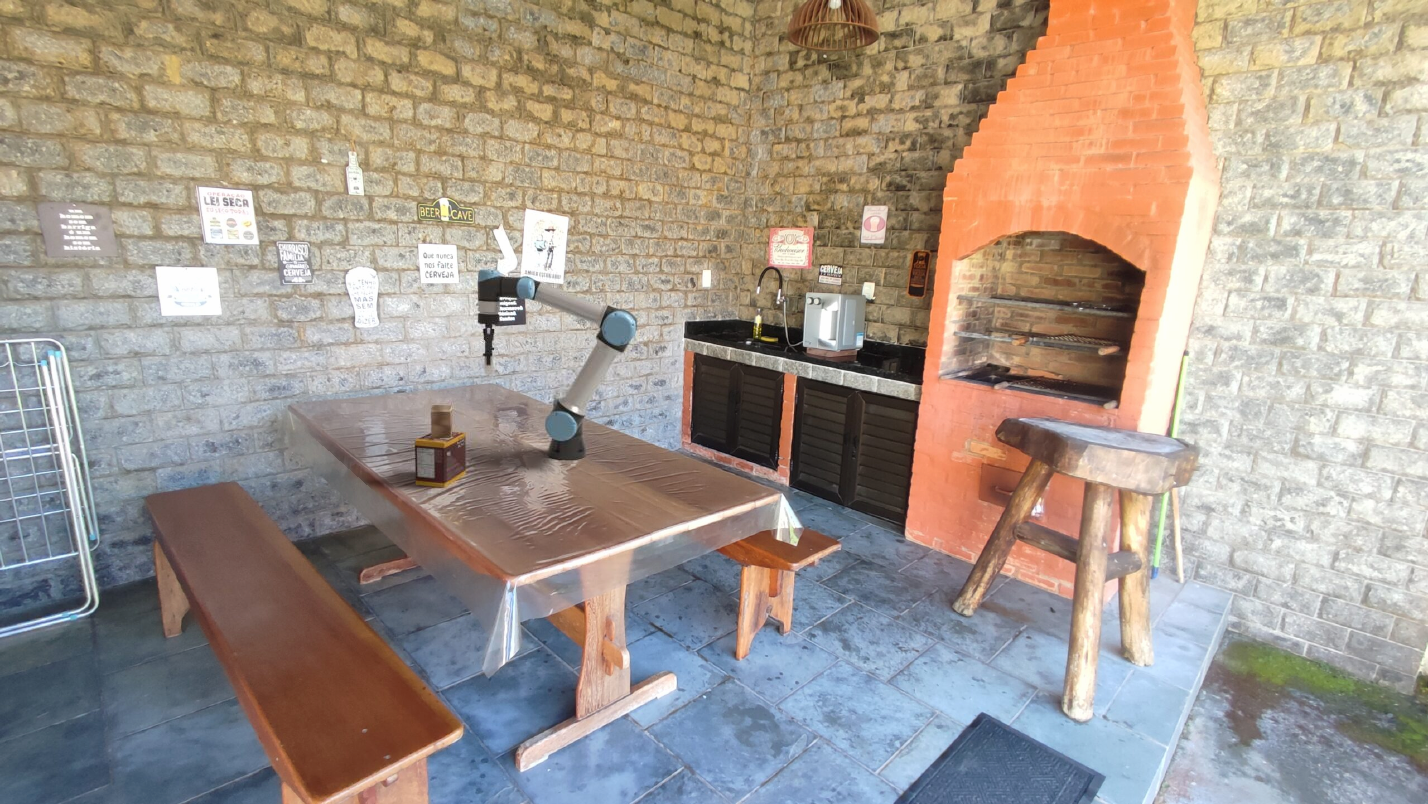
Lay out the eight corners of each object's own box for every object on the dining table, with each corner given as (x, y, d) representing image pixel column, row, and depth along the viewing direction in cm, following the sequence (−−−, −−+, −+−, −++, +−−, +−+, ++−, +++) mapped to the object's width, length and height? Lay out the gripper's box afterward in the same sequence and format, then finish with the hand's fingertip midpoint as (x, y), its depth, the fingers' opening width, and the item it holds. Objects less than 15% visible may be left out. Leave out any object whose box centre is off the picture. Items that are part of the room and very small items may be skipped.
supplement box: (466, 474, 232) (466, 431, 229) (444, 488, 217) (444, 442, 214) (438, 471, 233) (437, 429, 230) (415, 485, 218) (414, 439, 215)
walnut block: (452, 433, 226) (452, 405, 224) (450, 438, 220) (450, 409, 218) (433, 433, 224) (432, 405, 222) (431, 438, 218) (430, 409, 216)
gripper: (478, 309, 247) (478, 365, 252) (476, 315, 224) (477, 376, 229) (499, 310, 250) (499, 365, 254) (500, 316, 227) (499, 376, 231)
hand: (488, 370), depth 241 cm, fingers open, 13 cm apart
